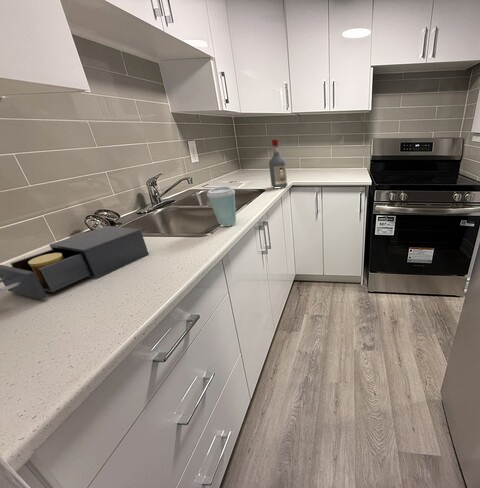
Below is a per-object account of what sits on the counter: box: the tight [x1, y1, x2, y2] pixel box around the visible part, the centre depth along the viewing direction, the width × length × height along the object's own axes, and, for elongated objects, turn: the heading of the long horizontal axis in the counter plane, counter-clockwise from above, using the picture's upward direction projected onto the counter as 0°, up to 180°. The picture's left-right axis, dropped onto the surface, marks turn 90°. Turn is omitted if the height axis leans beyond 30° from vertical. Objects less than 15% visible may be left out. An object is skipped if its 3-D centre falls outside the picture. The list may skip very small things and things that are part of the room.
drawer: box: [0, 248, 93, 301], centre depth 65 cm, size 19×13×7 cm
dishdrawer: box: [48, 225, 150, 280], centre depth 78 cm, size 16×15×9 cm
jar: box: [28, 253, 64, 283], centre depth 67 cm, size 6×6×6 cm
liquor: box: [268, 139, 288, 188], centre depth 172 cm, size 9×9×30 cm
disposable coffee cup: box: [206, 185, 237, 227], centre depth 106 cm, size 11×11×15 cm
